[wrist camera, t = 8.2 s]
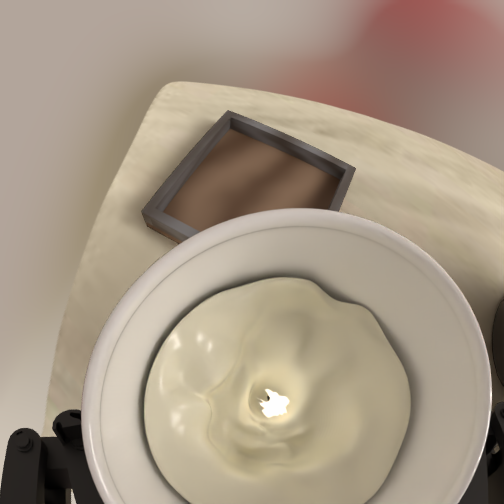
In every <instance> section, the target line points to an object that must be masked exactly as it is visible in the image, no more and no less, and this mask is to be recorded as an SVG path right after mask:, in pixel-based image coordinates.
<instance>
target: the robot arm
mask: <svg viewBox="0 0 504 504" xmlns="http://www.w3.org/2000/svg"><path fill="white" fill-rule="evenodd" d="M493 355H494V362H495V366H496V370H497V373H498V376H499V378H500V381H501V382H502V384H503V386H504V300H503V301H502V302H501V304H500V306H499V308H498V310H497V313H496V317H495V321H494V327H493ZM52 430H53V431H54V433H55V434H56V436H57V437H40V436H39V435H38V433H36V432H35V431H34V430H33V429H29V428H21V429H18V430H16V431H15V432H14V433H13V434H12V435H11V436H10V438H9V441H8V445H7V451H6V456H5V461H4V468H3V474H2V481H1V490H0V504H71V489H73V493H74V497H75V500H76V503H77V504H104V502H103V500H102V498H101V497H100V495H99V492H98V490H97V488H96V486H95V483H94V481H93V478H92V476H91V473H90V470H89V466H88V463H87V459H86V455H85V450H84V444H83V437H82V426H81V411H80V410H67V411H64V412H62V413H60V414H59V415H58V416H57V417H56V418H55V420H54V422H53V427H52ZM497 445H499V448H500V450H499V451H498V452H497V453H496V452H495V451H494V448H495V447H496V446H497ZM458 504H504V402H500V403H498V404H497V405H496V406H495V408H494V409H493V411H491V417H490V424H489V430H488V434H487V439H486V443H485V446H484V450H483V453H482V456H481V459H480V461H479V464H478V467H477V469H476V471H475V474H474V476H473V478H472V480H471V482H470V484H469V486H468V488H467V489H466V491H465V493H464V495H463V496H462V498H461V500H460V501H459V503H458Z"/></svg>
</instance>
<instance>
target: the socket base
mask: <svg viewBox="0 0 504 504" xmlns="http://www.w3.org/2000/svg"><path fill="white" fill-rule="evenodd" d="M355 170H356V168H355V167H353V166H351V165H349V164H347V163H345V162H343V161H341V160H339V159H337V158H335V157H333V156H331V155H329V154H327V153H325V152H323V151H321V150H319V149H317V148H315V147H313V146H311V145H309V144H307V143H305V142H302V141H300V140H298V139H296V138H294V137H292V136H289V135H287V134H285V133H283V132H280V131H278V130H276V129H273V128H271V127H269V126H266V125H264V124H262V123H259V122H257V121H254V120H252V119H249V118H247V117H244V116H242V115H239V114H237V113H234V112H231V111H229V110H228V111H227V112H226V113H225V114H224V115H223V116H222V117H221V118H220V119H219V120H218V121H217V122H216V123H215V124H214V125H213V127H212V128H211V129H210V130H209V131H208V132H207V133H206V134H205V135H204V136H203V138H202V139H201V140H200V141H199V142H198V143H197V144H196V145H195V147H194V148H193V149H192V150H191V151H190V152H189V153H188V155H187V156H186V157H185V158H184V159H183V160H182V162H181V163H180V164H179V165H178V166H177V168H176V169H175V170H174V171H173V172H172V174H171V175H170V176H169V177H168V178H167V180H166V181H165V182H164V183H163V185H162V186H161V187H160V188H159V189H158V191H157V192H156V193H155V195H154V196H153V197H152V198H151V200H150V201H149V202H148V203H147V205H146V206H145V207H144V209H143V210H142V211H141V212H142V215H143V217H144V220H145V222H146V224H147V226H148V227H150V228H152V229H153V230H155V231H157V232H159V233H161V234H162V235H164V236H166V237H168V238H170V239H171V240H173V241H175V242H177V243H179V244H180V243H182V242H183V241H185V240H187V239H188V238H190V237H192V236H194V235H196V234H198V233H199V232H202V231H204V230H206V229H208V228H210V227H212V226H215V225H217V224H219V223H222V222H225V221H228V220H231V219H234V218H237V217H240V216H244V215H248V214H252V213H257V212H262V211H268V210H275V209H287V208H313V209H324V210H332V211H338V212H339V209H340V207H341V205H342V202H343V200H344V197H345V195H346V192H347V190H348V187H349V185H350V182H351V180H352V177H353V175H354V172H355Z"/></svg>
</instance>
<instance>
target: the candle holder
mask: <svg viewBox="0 0 504 504" xmlns="http://www.w3.org/2000/svg"><path fill="white" fill-rule="evenodd" d="M491 407H492V380H491V370H490V363H489V358H488V353H487V349H486V345H485V341H484V338H483V335H482V332H481V329H480V326H479V324H478V322H477V319H476V317H475V315H474V313H473V311H472V309H471V307H470V305H469V303H468V301H467V300H466V298H465V296H464V295H463V293H462V292H461V290H460V289H459V287H458V286H457V285H456V283H455V282H454V281H453V279H452V278H451V277H450V276H449V275H448V273H447V272H446V271H445V270H444V269H443V268H442V267H441V266H440V265H439V264H438V263H437V262H436V261H435V260H434V259H433V258H432V257H431V256H430V255H429V254H427V253H426V252H425V251H424V250H422V249H421V248H420V247H419V246H417V245H416V244H414V243H413V242H412V241H410V240H408V239H407V238H405V237H404V236H402V235H400V234H399V233H397V232H395V231H393V230H391V229H389V228H387V227H385V226H383V225H380V224H378V223H376V222H373V221H370V220H368V219H365V218H362V217H358V216H355V215H351V214H347V213H343V212H338V211H332V210H324V209H313V208H287V209H275V210H268V211H262V212H257V213H252V214H248V215H244V216H240V217H237V218H234V219H231V220H228V221H225V222H222V223H219V224H217V225H215V226H212V227H210V228H208V229H206V230H204V231H202V232H199V233H198V234H196V235H194V236H192V237H190V238H188V239H187V240H185V241H183V242H182V243H180V244H179V245H177V246H176V247H174V248H173V249H171V250H170V251H169V252H167V253H166V254H164V255H163V256H162V257H161V258H159V259H158V260H157V261H156V262H155V263H153V264H152V265H151V266H150V267H149V268H148V269H147V270H146V271H145V272H144V273H143V274H142V275H141V276H140V277H139V278H138V279H137V280H136V281H135V282H134V283H133V284H132V285H131V287H130V288H129V289H128V290H127V291H126V293H125V294H124V295H123V296H122V298H121V299H120V301H119V302H118V303H117V305H116V306H115V308H114V309H113V311H112V312H111V314H110V316H109V317H108V319H107V321H106V323H105V325H104V326H103V328H102V330H101V332H100V335H99V337H98V339H97V341H96V344H95V346H94V349H93V352H92V354H91V357H90V361H89V364H88V368H87V372H86V376H85V381H84V387H83V394H82V405H81V426H82V437H83V444H84V450H85V455H86V459H87V463H88V466H89V470H90V473H91V476H92V478H93V481H94V483H95V486H96V488H97V490H98V492H99V495H100V497H101V498H102V500H103V502H104V504H458V503H459V501H460V500H461V498H462V496H463V495H464V493H465V491H466V489H467V488H468V486H469V484H470V482H471V480H472V478H473V476H474V474H475V471H476V469H477V467H478V464H479V461H480V459H481V456H482V453H483V450H484V446H485V443H486V439H487V434H488V430H489V424H490V417H491Z"/></svg>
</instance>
